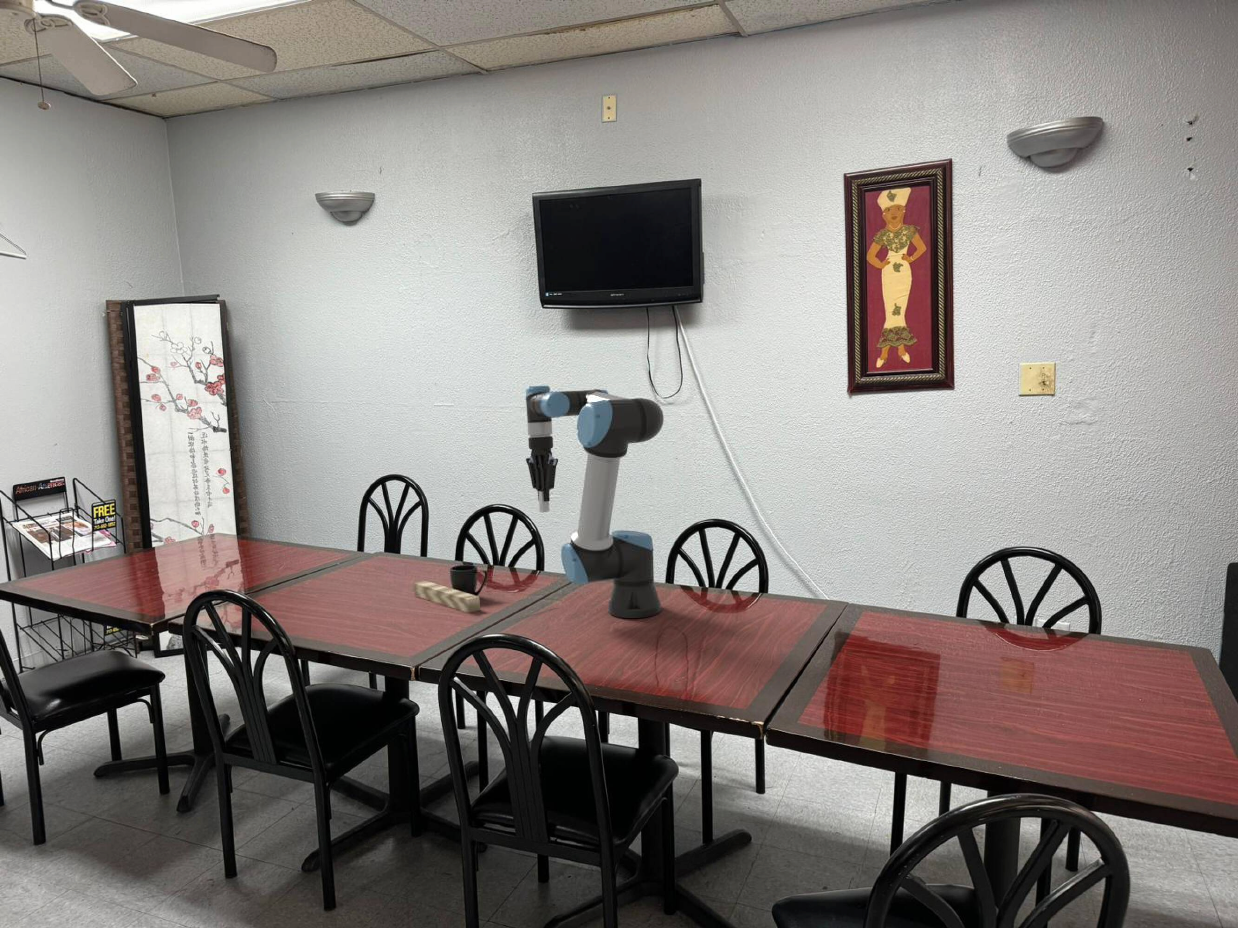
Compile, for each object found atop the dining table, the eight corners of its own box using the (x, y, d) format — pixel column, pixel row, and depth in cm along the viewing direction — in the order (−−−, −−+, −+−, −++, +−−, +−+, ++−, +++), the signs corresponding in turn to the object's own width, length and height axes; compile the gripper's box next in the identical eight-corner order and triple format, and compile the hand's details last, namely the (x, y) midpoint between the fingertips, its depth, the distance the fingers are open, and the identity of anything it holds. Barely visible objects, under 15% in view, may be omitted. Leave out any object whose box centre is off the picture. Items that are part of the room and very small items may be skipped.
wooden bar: (480, 609, 259) (479, 596, 258) (468, 612, 256) (467, 599, 255) (425, 592, 280) (425, 580, 280) (414, 595, 278) (413, 583, 277)
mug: (482, 602, 266) (480, 571, 265) (446, 600, 270) (444, 570, 269) (494, 595, 274) (492, 565, 273) (459, 593, 278) (457, 564, 277)
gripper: (563, 435, 270) (567, 511, 273) (536, 434, 279) (540, 508, 282) (544, 437, 265) (549, 514, 267) (517, 436, 274) (521, 511, 276)
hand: (544, 511), depth 274 cm, fingers closed
